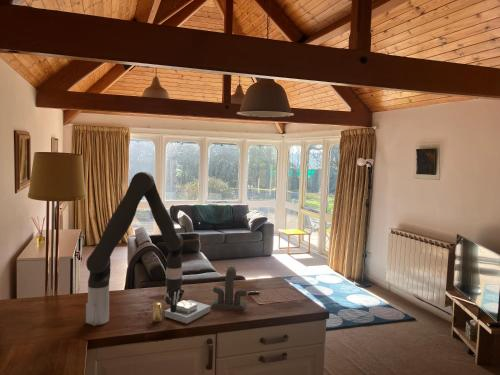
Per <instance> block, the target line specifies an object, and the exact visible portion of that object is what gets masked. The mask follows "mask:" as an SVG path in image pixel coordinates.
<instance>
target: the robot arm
mask: <svg viewBox="0 0 500 375" xmlns="http://www.w3.org/2000/svg"><path fill="white" fill-rule="evenodd" d="M143 198H145V200H146V201H147V204H148V206H149V209H150V213H151V215H152V217H153V220H154V222H155V223H156V227H157V228H158V229H159V232H160V233H161V237H162V240H163V243H164V245H165V246H166V248H167V249H168V253H167V255H166V270H165V287H166V294H165V295H163V296H162V298H163V300H164V302H165V303H166V304H167V305H169V309H170V311H171V312H172V313H174V312H176V309H177V303H178V302H180V301H182V300H181V299H182V298H183V295H184V293H185V290H184V289H182V286H183V267H182V265H183V256H182V255H183V249H184V237H183V236H182V235H181V234H180V233H177V232H176V229H175V224H174V221H173V220H172V217H171V216H170V213H169V211H168V209H167V208H166V206H165V204H164V203H163V201H162V198H161V196H160V194H159V192H158V188H157V185H156V182H155V179H154V176H153V175H152V174H151V173H150V172H147V171H139V172H136V173H135V174H134V175H133V176H132V178H131V180H130V183H129V184H128V187H127V189H126V192H125V194H124V196H123V198H122V199H121V200H120V201H119V204H118V205H117V206H116V209H115V210H114V212H113V213H112V215H111V217H110V219H109V220H108V223H107V225H106V227H105V229H104V231H103V232H102V235H101V237H100V240H99V242H98V243H97V245H96V247H95V248H94V249H93V251H92V252H91V253H90V254H89V256H88V257H87V259H86V269H87V271H89V276H88V279H87V302H86V303H85V324H89V325H92V326H93V327H95V326H100V325H104V324H107V323H108V322H109V321H110V278H111V266H112V265H111V264H112V262H111V257H112V254H113V252H114V250H115V248H116V247H117V245H118V244H119V243H120V241H122V239H123V238H124V236H125V235H126V233H127V232H128V230H129V229H130V227H131V225H132V224H133V223H132V222H133V221H134V218H135V216H136V212H137V210H138V207H139V204H140V203H141V200H142V199H143Z"/></svg>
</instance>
